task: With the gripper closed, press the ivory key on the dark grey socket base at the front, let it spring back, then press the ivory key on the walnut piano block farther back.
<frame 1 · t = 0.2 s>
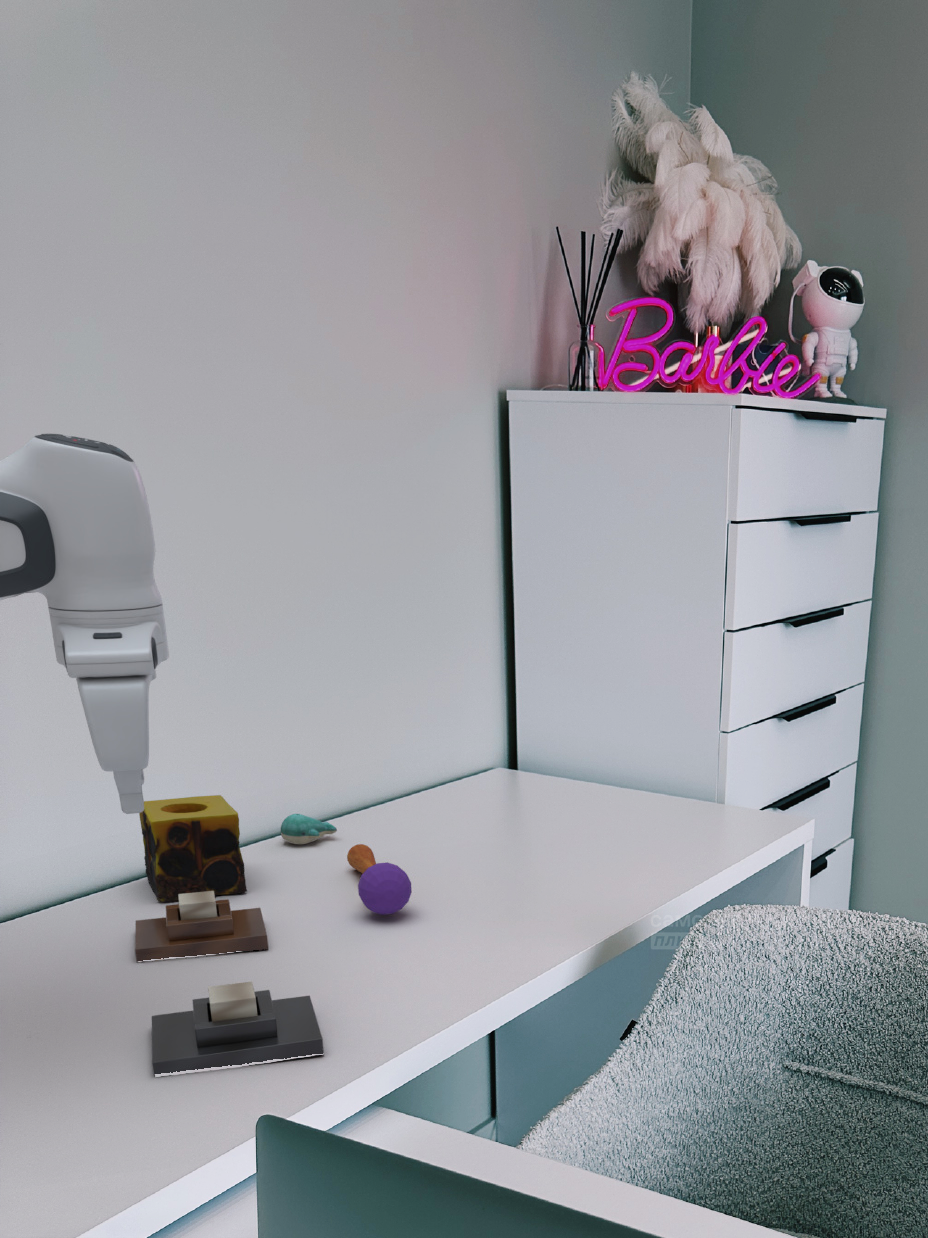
hand: (134, 797, 111), 21 cm above the table, tool pointing down, fingers open, 8 cm apart
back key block: (202, 942, 136), on the table
whale figurine: (309, 841, 171), on the table
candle: (196, 888, 152), on the table
front key: (232, 1002, 112), point 4 cm above the table, slide at 0.1 cm
back key: (197, 906, 134), point 4 cm above the table, slide at 0.1 cm
dark grey socket base: (237, 1043, 113), on the table
purple maraca: (375, 895, 152), on the table
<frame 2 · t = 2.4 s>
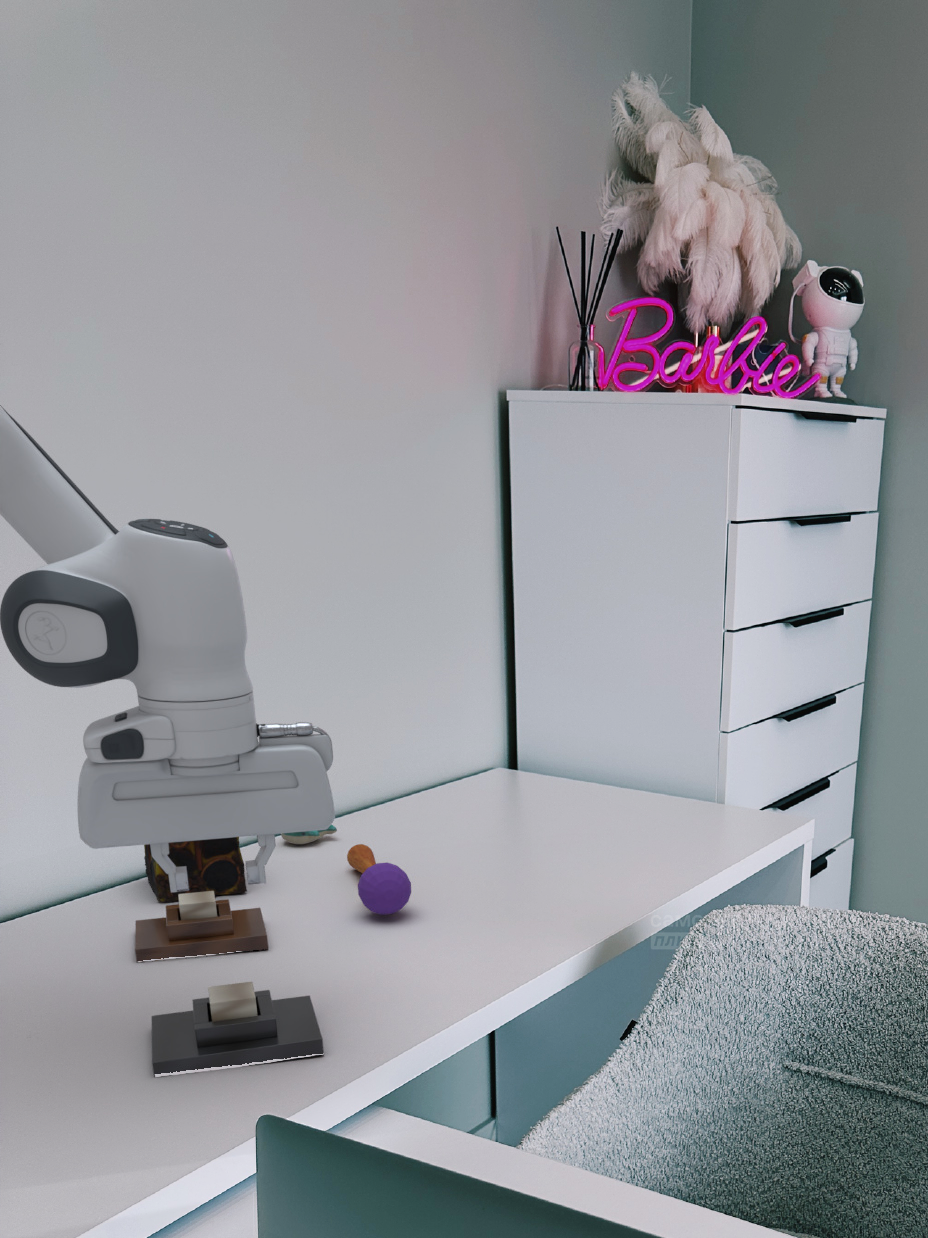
hand: (218, 886, 108), 15 cm above the table, tool pointing down, fingers open, 5 cm apart
nothing on the table moved.
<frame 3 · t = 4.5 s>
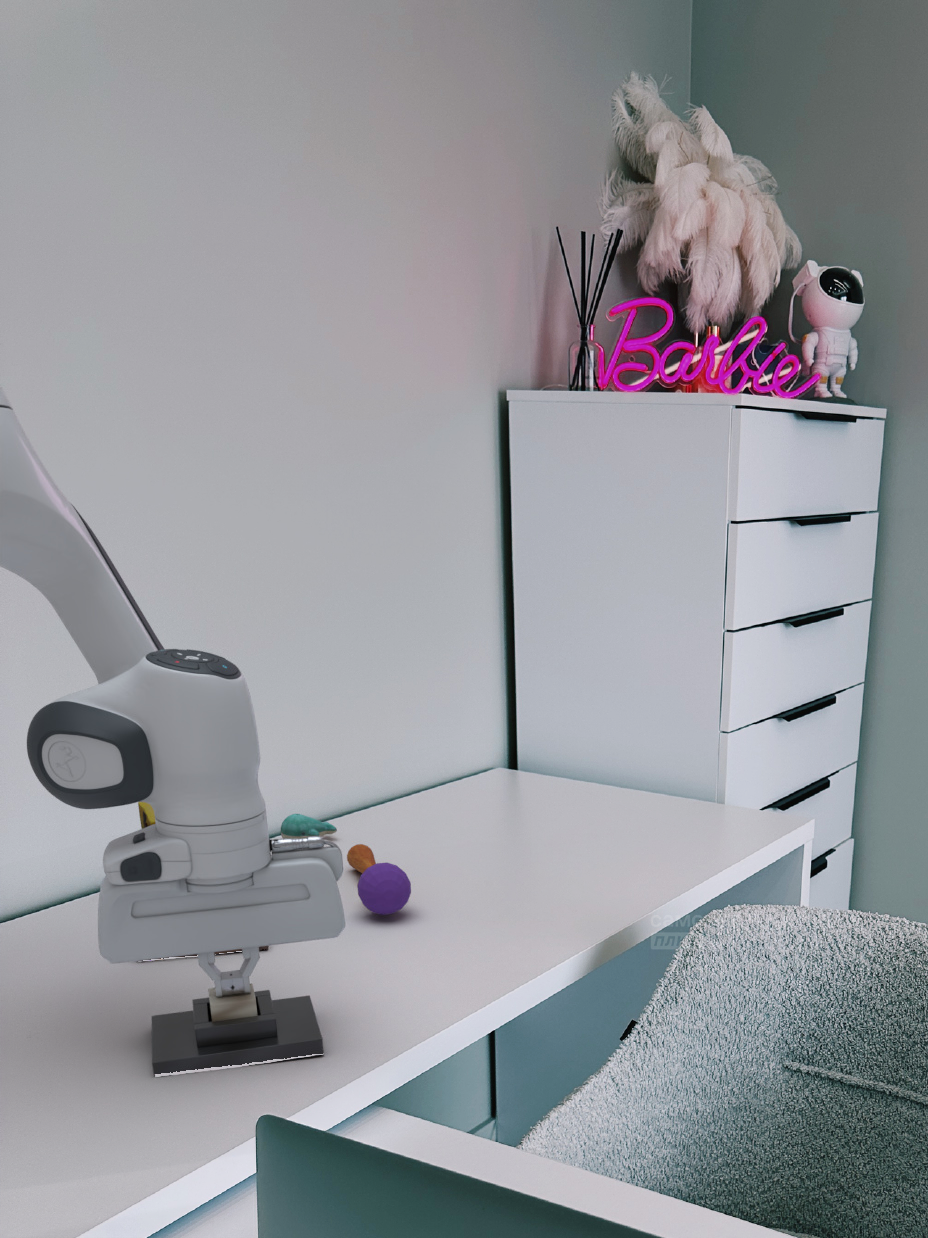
hand: (233, 993, 112), 5 cm above the table, tool pointing down, fingers closed, pressing on front key
front key: (232, 1004, 112), point 4 cm above the table, slide at -0.1 cm, touching gripper
everything else where it was.
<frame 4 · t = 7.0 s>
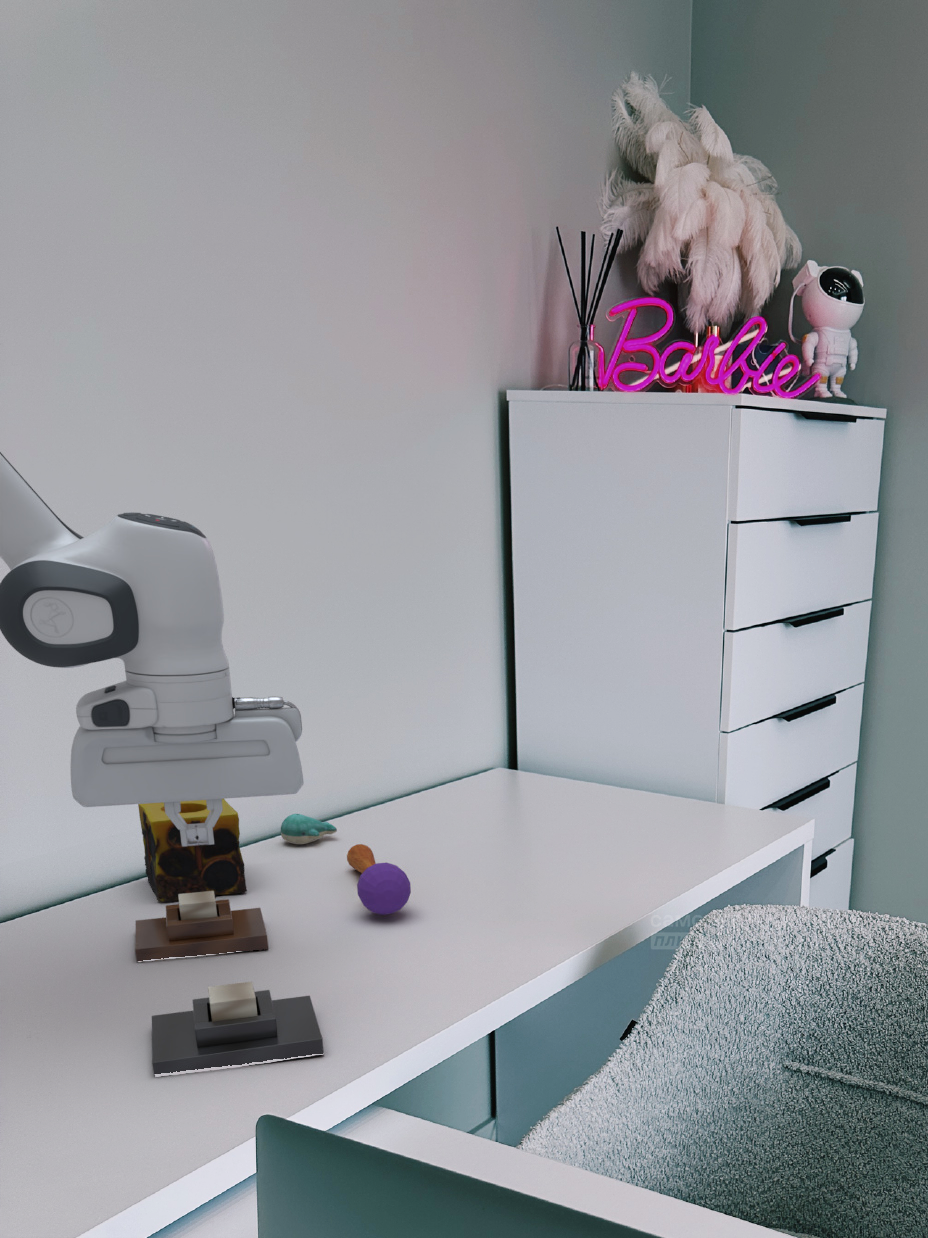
hand: (198, 844, 120), 15 cm above the table, tool pointing down, fingers closed
front key: (232, 1002, 112), point 4 cm above the table, slide at 0.1 cm
everything else where it was.
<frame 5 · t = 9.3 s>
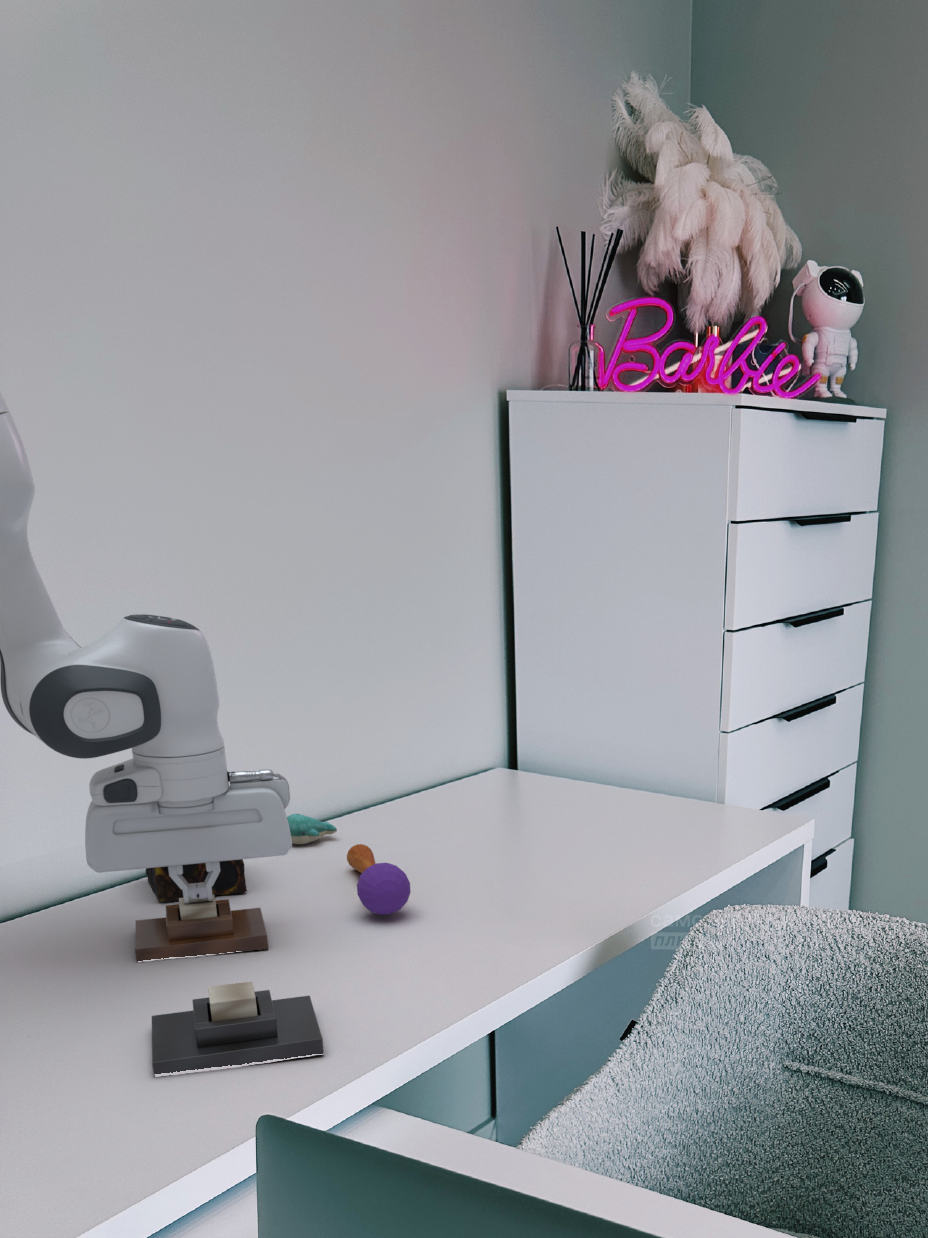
hand: (198, 901, 134), 5 cm above the table, tool pointing down, fingers closed, pressing on back key
back key: (198, 910, 135), point 4 cm above the table, slide at -0.4 cm, touching gripper
everything else where it was.
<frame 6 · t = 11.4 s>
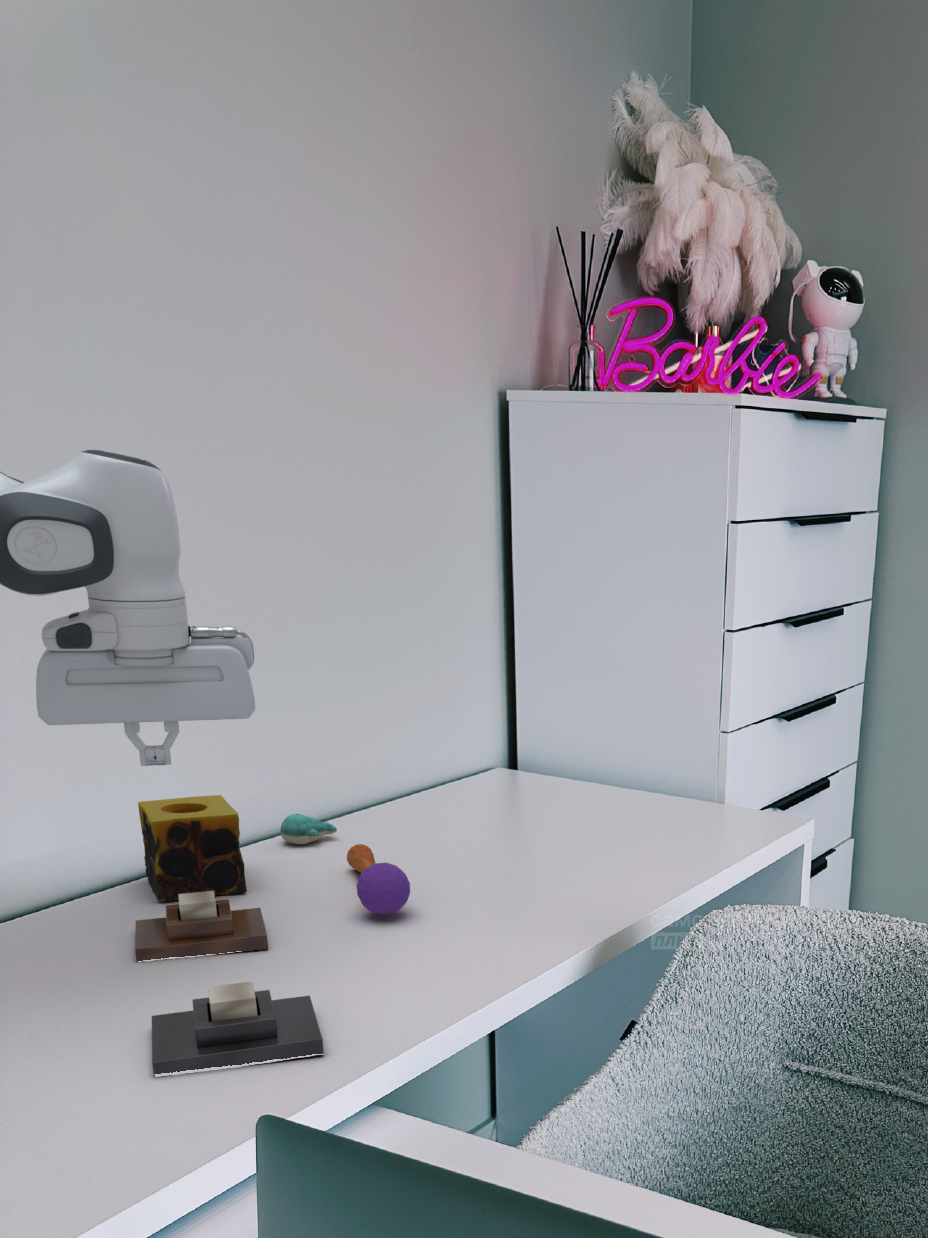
hand: (156, 764, 128), 20 cm above the table, tool pointing down, fingers closed
back key: (197, 906, 134), point 4 cm above the table, slide at 0.1 cm
everything else where it was.
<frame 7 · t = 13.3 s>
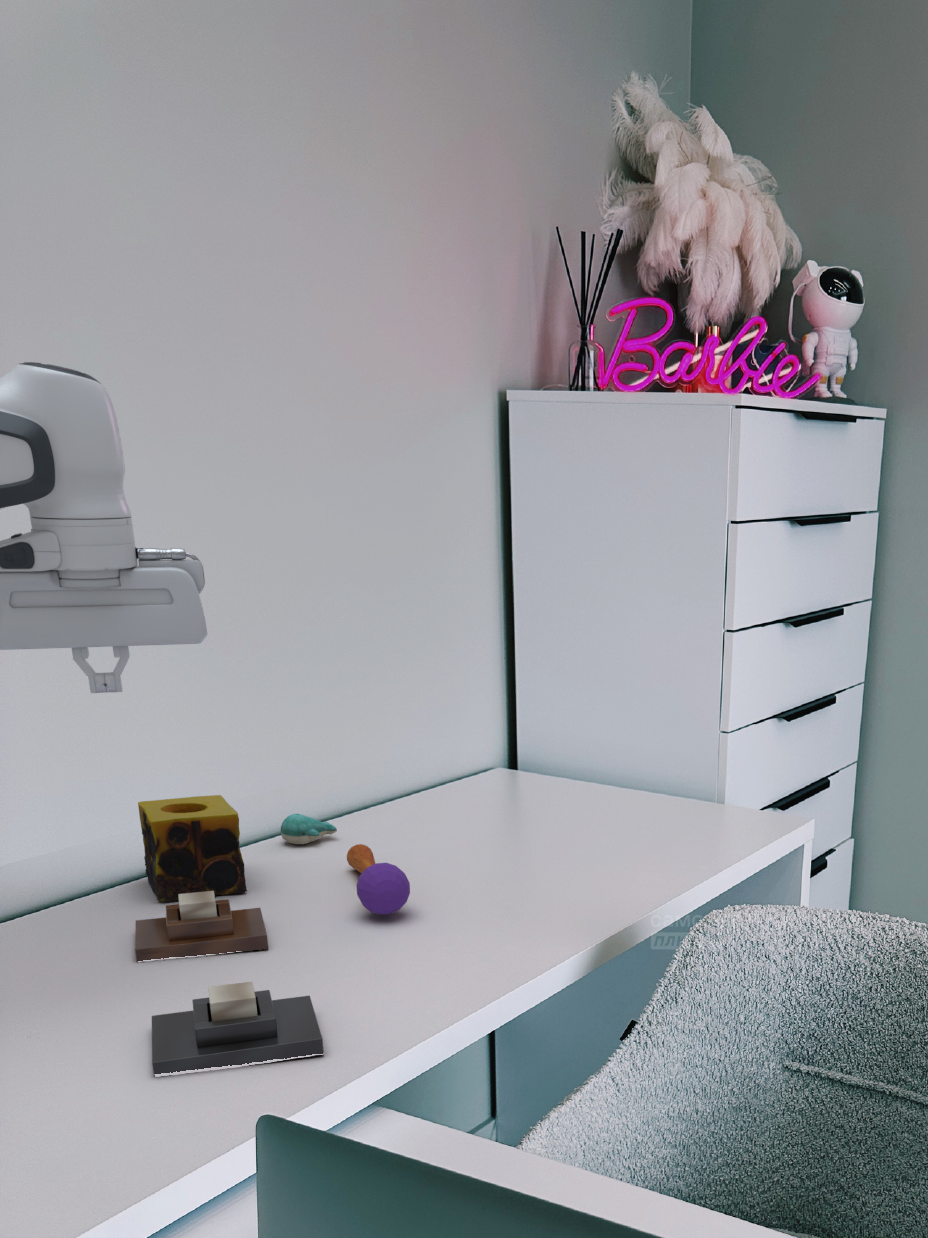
hand: (106, 691, 126), 27 cm above the table, tool pointing down, fingers closed
nothing on the table moved.
at the end: front key pushed in 1.1 cm at the most during the clip, back to where it started at the end; back key pushed in 1.1 cm at the most during the clip, back to where it started at the end; back key slide at 0.1 cm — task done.
